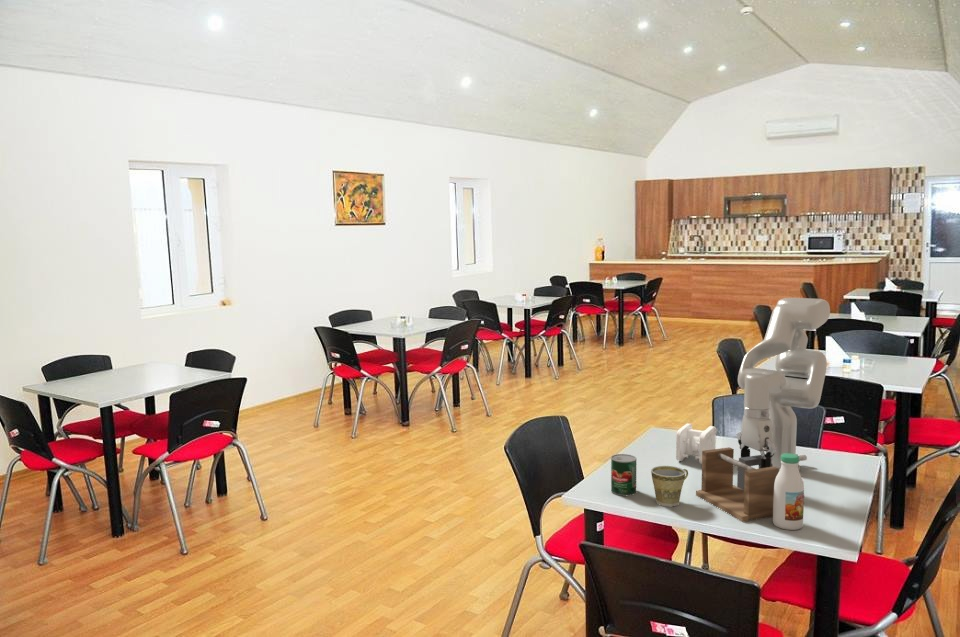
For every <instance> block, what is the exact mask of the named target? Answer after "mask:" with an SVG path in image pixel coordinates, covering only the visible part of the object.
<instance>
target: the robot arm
mask: <svg viewBox="0 0 960 637" xmlns="http://www.w3.org/2000/svg"><path fill="white" fill-rule="evenodd" d="M830 314H831V307H830V303H829V302H828V301H827V300H825V299H822V298H811V297H810V298H806V297H785V298H781V299H779V300H778V301H777V302H776V306H775V307H773V310H772V312H771V315H770V319H769V321H768V322H769V323H768V325H767V329H766V333H765V335H764V338H763V340H761V342H759V343H757V344H756V345H754V346H752V348H751V349H750V350H749V351H748V352H746V354H745V355H744V356H743V359H742V361H741V365H740V368H739V371H738V375H737V384H738V386H739V388H740V389H742V390H744V392H743V393H744V396H743V398H744V399H743V416H742V421H741V429H740V432H737V433H736V437H737V442H738V445H739V450H740V458H742V457H749V456H751V449H753V450H756V451H758V452H760V455H761V456H762V458H761V468H767V467H770V461H771V458H772V464H773V467H776V468H779V471H780V468H781V465H782V463H781V455H782V454H785V453H790V454H795V455H798V454H797V451H796V450H797V425H798V421H797V420H798V419H797V416H796V413H795V411H794V410H793V408H792V407H795V408H801V409H809V410H811V409H815V408H817V407H818V405H819V404H820V401H821V398H822V397H821V396H822V393H823V388H824V384H825V378H826V373H827V366H828V364H827V357H826V356H825V354H824V353H823V352H821V351H818V350H814V349H813V350H812V349H807V345H808V340H809V338H808V336H807V334H806V332H805V331H815V330H816V329H819V328H820V327H822V325H824V324H825V323H827V321H828V320H829V317H830ZM804 330H805V331H804ZM775 356H776V359H775V370H773V369H766V368H755V366H756V365H757V364H758V363H759V362H761V361H763V360H765V359H768V358H771V357H775ZM803 378H805V379H803ZM798 456H799V462H804V461H807V459H808V457H807V455H806V454H801V455H798ZM798 470H799V471H800V470H801V465H800V463H799V464H798Z"/></svg>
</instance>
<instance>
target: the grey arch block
mask: <svg viewBox="0 0 960 637" xmlns="http://www.w3.org/2000/svg"><path fill="white" fill-rule="evenodd" d="M761 458H762V456H761V454H757V455H750V456H749V457H742V458H741V457H738V461H739V462H741V463H744V464H746V465H748V466H750V467H753V466H758V469H760V468H761ZM770 467H773V464H772V458H771V461H770ZM745 471H746V470H744V469H742V468H739V467H737V479H736V480H737V483H736V484H737V485H736V486H737V487H739V488H741V489H743V490H744V484H745Z"/></svg>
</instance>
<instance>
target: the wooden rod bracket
mask: <svg viewBox="0 0 960 637" xmlns="http://www.w3.org/2000/svg"><path fill="white" fill-rule="evenodd" d="M734 452H735V451H734V448H732V447H731V446H730V447H721V448H715V449H713V450H705V451H702V464H701V489H699V490H695V496H696V497H698V498H699V497H700V499H701V498H702V499H701V500H703V499H704V500H703V501H705V500H706V501H705V502H706V503H708V502H709V504H710V503H711V504H710V505H712V504H713V505H712V506H713V507H715V506H716V507H715V508H717V507H718V508H717V509H719V508H720V509H719V510H721V509H722V510H723V512H724V511H725V512H724V513H726V512H727V513H726V514H728V513H729V514H731V515H732V516H731V515H730V516H731V517H733V516H734V517H733V518H735V519H736V518H737V519H736V520H738V519H739V521H740V522H743V521H745V522H750V520H751V521H756V519H757V520H760V519H761V520H762V519H768V518H773V498H774V483H775V479H776V476H777V474H778V473H779V468H776V467H767V468H760V469H759V468H755V467H753V466H751V467H750V466H748V465H746V464H744V463H741V462H739V460H738V459H735V458H734V456H735V455H734ZM734 466H736V467H737V468H738V467H739V468H742V469H744V470H746V471H745V484H744V490H743V489H741V488H739V487H737V485H735V484H734ZM722 510H721V511H722ZM729 514H728V515H729ZM743 523H744V522H743Z"/></svg>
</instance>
